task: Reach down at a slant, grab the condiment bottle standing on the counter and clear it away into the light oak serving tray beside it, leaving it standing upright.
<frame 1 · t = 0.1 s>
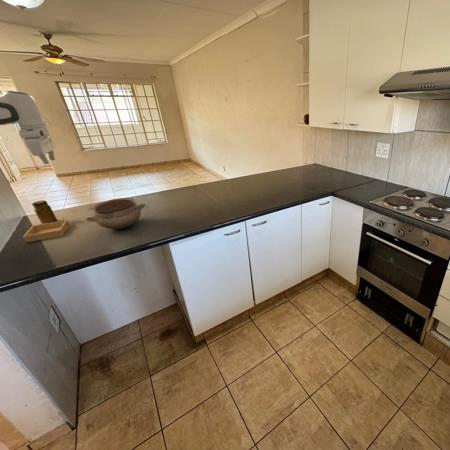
hand: (50, 161, 118), 31 cm above the countertop, tool pointing down, fingers open, 8 cm apart
cooking pot: (123, 226, 126), on the countertop
condiment: (52, 223, 129), on the countertop
tray: (49, 233, 119), on the countertop
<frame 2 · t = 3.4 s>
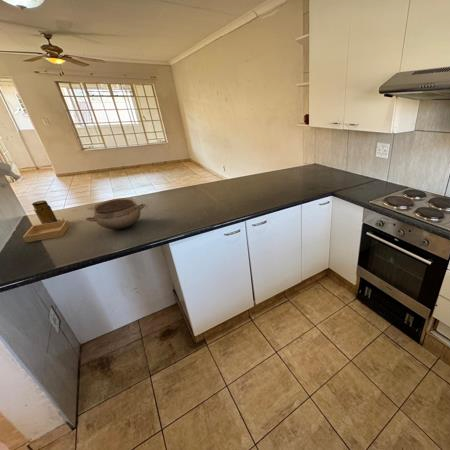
hand: (12, 182, 118), 23 cm above the countertop, tool tilted 50°, fingers open, 8 cm apart
nothing on the countertop moved.
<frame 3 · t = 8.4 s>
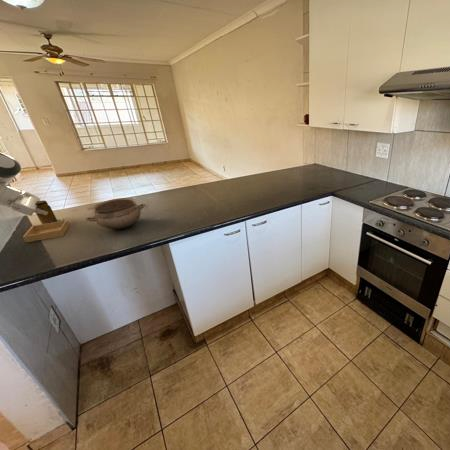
hand: (48, 211, 127), 7 cm above the countertop, tool tilted 45°, fingers closed on condiment, 6 cm apart
condiment: (52, 223, 129), on the countertop, touching gripper
everything else where it was.
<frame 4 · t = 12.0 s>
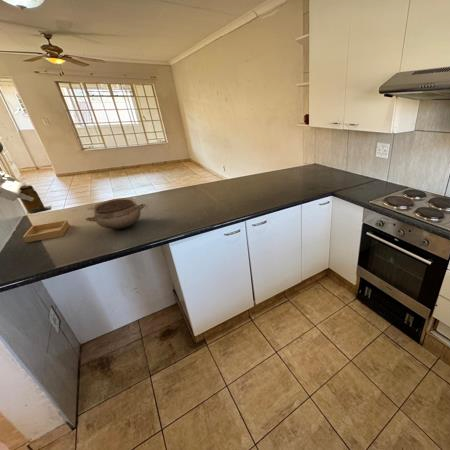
hand: (34, 197, 115), 17 cm above the countertop, tool tilted 45°, fingers closed on condiment, 6 cm apart
condiment: (39, 210, 117), point 11 cm above the countertop, touching gripper
everything else where it was.
when the fingers open (7 cm above the countertop, at t = 15.9 s): condiment stays where it is, resting on tray.
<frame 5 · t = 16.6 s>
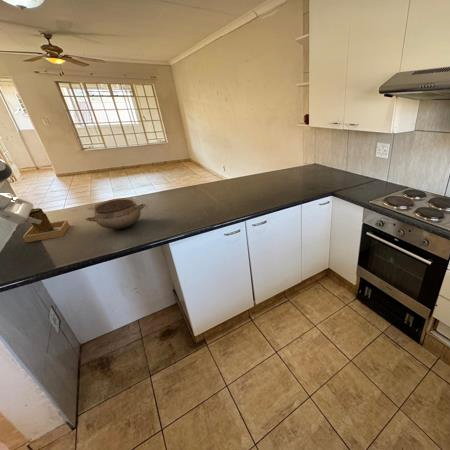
hand: (42, 218, 116), 8 cm above the countertop, tool tilted 45°, fingers open, 8 cm apart
condiment: (48, 232, 119), resting on tray
everything else where it was.
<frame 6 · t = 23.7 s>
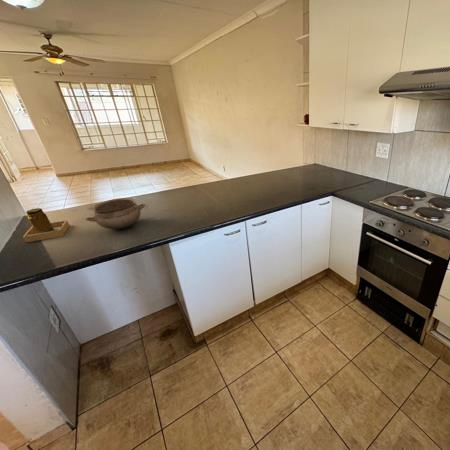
nothing on the countertop moved.
at the end: condiment inside the target area in the tray (0.0 cm from its centre), point 0.4 cm above the tray's base; condiment tilted 0°; the gripper is holding nothing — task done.
